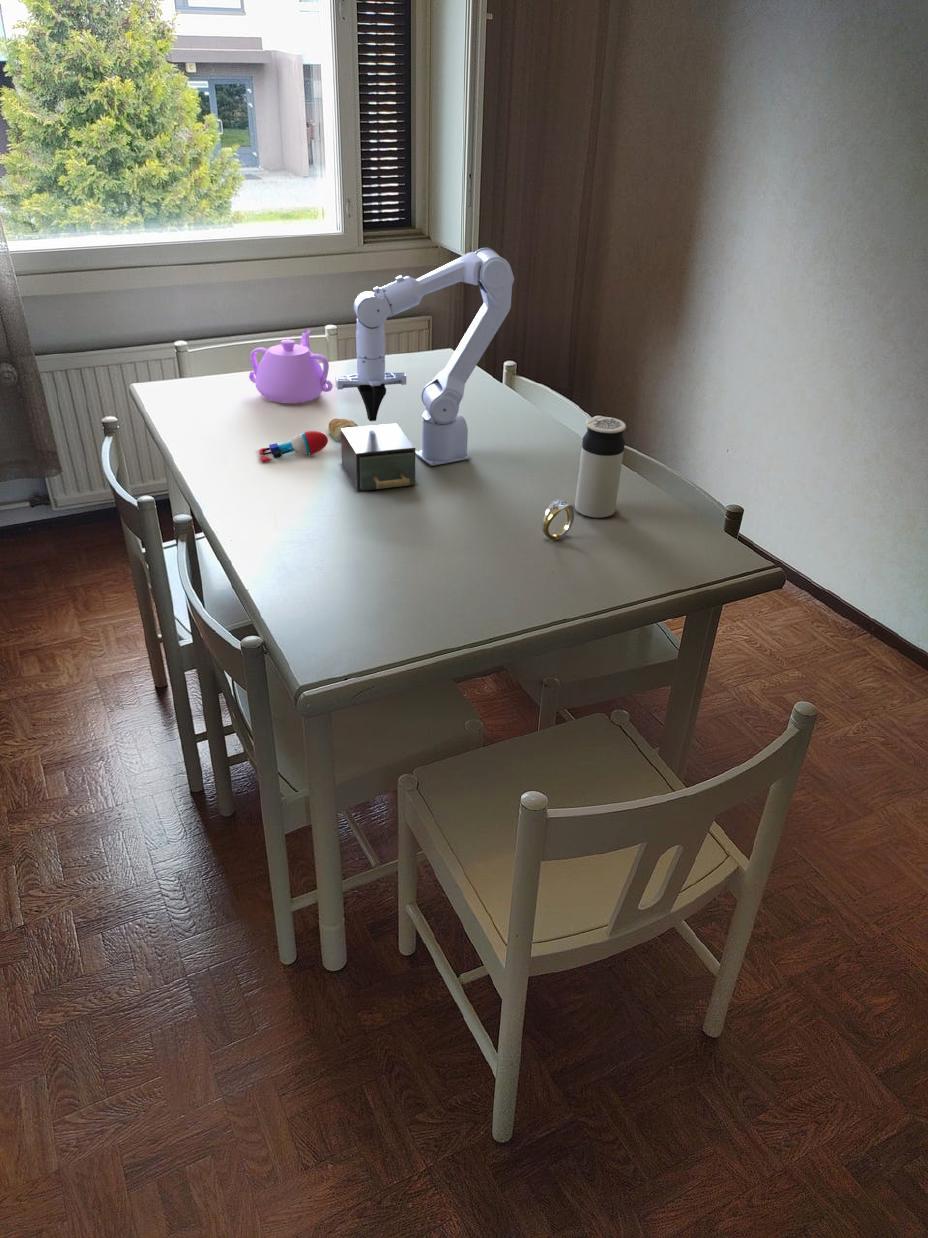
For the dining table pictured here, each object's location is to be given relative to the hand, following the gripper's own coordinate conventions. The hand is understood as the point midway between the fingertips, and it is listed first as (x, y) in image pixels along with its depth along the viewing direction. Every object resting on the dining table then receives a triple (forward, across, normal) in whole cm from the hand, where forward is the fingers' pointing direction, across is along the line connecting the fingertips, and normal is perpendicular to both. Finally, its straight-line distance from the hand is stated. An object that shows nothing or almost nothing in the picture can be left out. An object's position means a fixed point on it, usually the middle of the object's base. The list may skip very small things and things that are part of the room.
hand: (371, 419), depth 191 cm
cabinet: (+9, -1, -7) cm, 12 cm away
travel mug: (+10, +36, -34) cm, 51 cm away
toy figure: (+10, -16, +8) cm, 20 cm away
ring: (+10, +24, -44) cm, 51 cm away
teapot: (+10, -8, +46) cm, 48 cm away
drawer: (+9, -1, -11) cm, 14 cm away
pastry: (+10, -3, +16) cm, 19 cm away
